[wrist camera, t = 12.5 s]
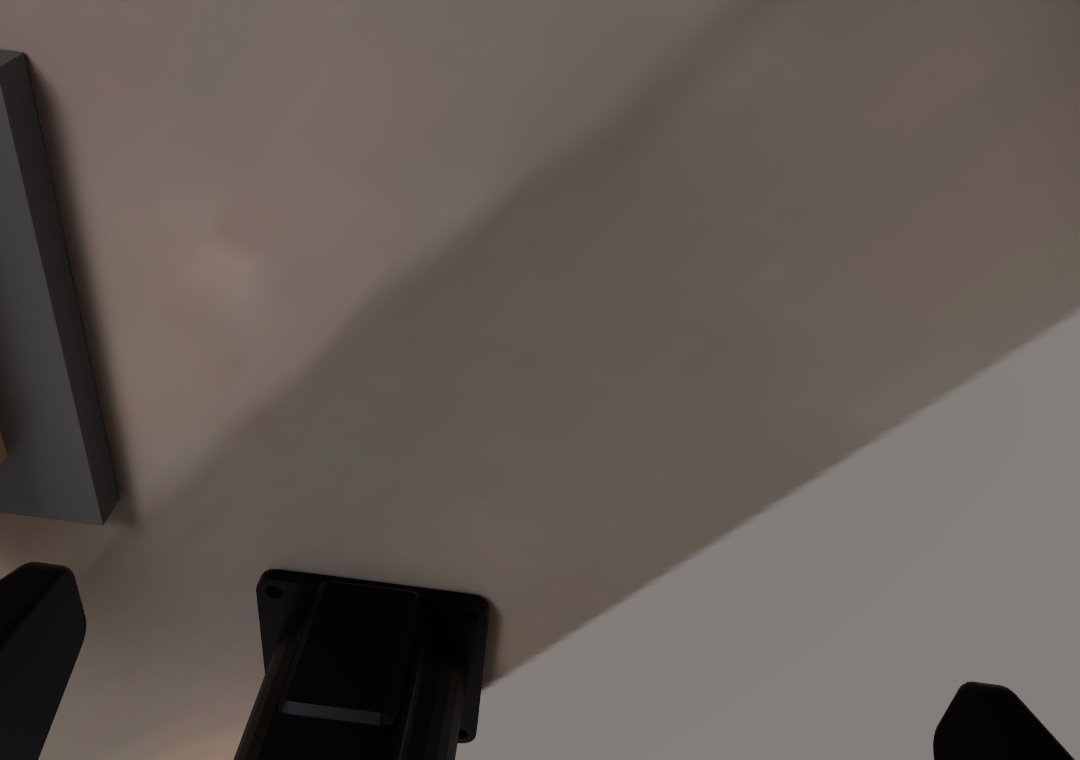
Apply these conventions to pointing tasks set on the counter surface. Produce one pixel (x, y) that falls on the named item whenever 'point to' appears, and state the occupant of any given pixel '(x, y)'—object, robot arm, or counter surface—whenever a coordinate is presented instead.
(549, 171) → the counter surface
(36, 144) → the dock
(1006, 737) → the robot arm
